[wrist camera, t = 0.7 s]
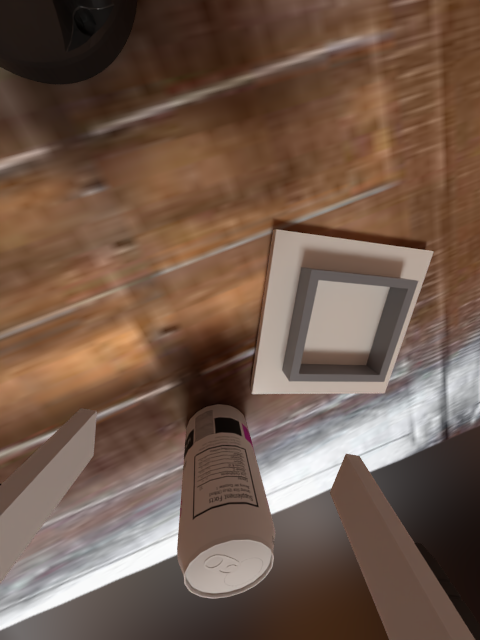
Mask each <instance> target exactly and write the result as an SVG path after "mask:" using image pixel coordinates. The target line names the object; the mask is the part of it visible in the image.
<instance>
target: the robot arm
mask: <svg viewBox="0 0 480 640" xmlns="http://www.w3.org/2000/svg"><path fill="white" fill-rule="evenodd" d="M136 6H137V0H0V67H2V68H4V69H6V70H8V71H10V72H12V73H14V74H16V75H19V76H21V77H24V78H27V79H30V80H34V81H38V82H43V83H49V84H70V83H76V82H80V81H83V80H86V79H89V78H91V77H93V76H95V75H97V74H98V73H100V72H101V71H103V70H104V69H105V68H107V67H108V66H109V65H110V64H111V63H112V62H113V61H114V60H115V58H116V57H117V56H118V54H119V53H120V52H121V50H122V48H123V47H124V45H125V43H126V41H127V39H128V37H129V34H130V31H131V29H132V25H133V22H134V17H135V12H136ZM96 414H97V411H93V410H88V409H82V408H81V409H80V410H79V411H78V412H77V413H76V414H74V415H73V416H72V417H71V418H70V419H69V420H68V421H67V422H66V423H65V424H64V425H63V426H62V427H61V428H60V429H59V430H58V431H57V432H56V433H55V434H54V435H53V436H52V437H50V438H49V439H48V440H47V441H46V442H45V443H44V444H43V445H42V446H41V447H40V448H39V449H38V450H37V451H36V452H35V453H34V454H33V455H32V456H31V457H30V458H29V459H28V460H26V461H25V462H24V463H23V464H22V465H21V466H20V467H19V468H18V469H17V470H16V471H15V472H14V473H13V474H12V475H11V476H10V477H9V478H8V479H7V480H6V481H5V482H4V483H2V484H0V583H1V582H2V581H3V579H4V578H5V577H6V575H7V574H8V572H9V571H10V570H11V568H12V567H13V566H14V564H15V563H16V561H17V560H18V559H19V557H20V556H21V555H22V553H23V552H24V550H25V549H26V548H27V546H28V545H29V544H30V542H31V541H32V539H33V538H34V537H35V535H36V534H37V532H38V531H39V530H40V528H41V527H42V526H43V524H44V523H45V521H46V520H47V519H48V517H49V516H50V515H51V513H52V512H53V510H54V509H55V508H56V506H57V505H58V504H59V502H60V501H61V499H62V498H63V497H64V495H65V494H66V493H67V491H68V490H69V488H70V487H71V486H72V484H73V483H74V482H75V480H76V479H77V477H78V476H79V475H80V473H81V472H82V471H83V469H84V468H85V466H86V465H87V464H88V462H89V461H90V460H91V458H92V457H93V455H94V442H95V428H96ZM330 494H331V496H332V499H333V502H334V504H335V506H336V509H337V511H338V514H339V516H340V519H341V521H342V524H343V526H344V529H345V531H346V534H347V536H348V538H349V541H350V543H351V546H352V548H353V551H354V553H355V556H356V558H357V561H358V563H359V565H360V568H361V570H362V573H363V575H364V578H365V580H366V583H367V585H368V588H369V590H370V592H371V595H372V598H373V600H374V602H375V605H376V607H377V610H378V612H379V615H380V617H381V620H382V622H383V625H384V627H385V630H386V632H387V634H388V637H389V639H390V640H480V624H479V623H478V621H477V620H476V618H475V617H474V616H473V614H472V612H471V611H470V609H469V608H468V606H467V605H466V604H465V602H464V601H463V600H462V599H461V596H460V594H459V593H458V592H457V590H456V588H455V587H454V585H453V584H451V583H450V580H449V578H448V577H447V575H446V574H445V572H444V571H443V569H442V568H441V566H440V565H439V563H438V562H437V560H436V559H435V558H434V557H433V556H432V555H431V554H430V553H429V552H428V550H427V549H426V548H425V547H424V546H423V545H422V544H420V543H414V542H413V540H412V539H411V537H410V536H409V534H408V533H407V531H406V529H405V528H404V526H403V524H402V523H401V521H400V520H399V518H398V517H397V515H396V513H395V512H394V510H393V509H392V507H391V505H390V504H389V502H388V501H387V499H386V498H385V496H384V495H383V493H382V491H381V490H380V488H379V486H378V485H377V483H376V482H375V480H374V479H373V477H372V475H371V474H370V472H369V471H368V469H367V467H366V466H365V464H364V463H363V461H362V460H361V458H360V456H356V455H350V454H346V455H345V457H344V460H343V462H342V465H341V467H340V469H339V472H338V474H337V477H336V479H335V482H334V484H333V486H332V489H331V492H330Z"/></svg>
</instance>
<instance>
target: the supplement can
mask: <svg viewBox="0 0 480 640" xmlns="http://www.w3.org/2000/svg"><path fill="white" fill-rule="evenodd" d="M274 539H275V529H274V525H273V521H272V517H271V513H270V509H269V506H268V502H267V498H266V494H265V491H264V487H263V483H262V479H261V475H260V472H259V468H258V464H257V460H256V456H255V453H254V449H253V445H252V441H251V437H250V434H249V430H248V426H247V423H246V420H245V417H244V415H243V414H242V413H241V412H240V411H239V410H238V409H236V408H234V407H232V406H229V405H221V404H217V405H212V406H207V407H205V408H203V409H201V410H200V411H198V412H197V413H196V414H195V415H194V416H193V417H192V418H191V419H190V421H189V423H188V425H187V428H186V439H185V453H184V466H183V480H182V493H181V507H180V520H179V534H178V547H177V552H178V562H179V564H180V567H181V570H182V573H183V575H184V584H185V585H186V587H187V588H188V590H189V591H190V592H192V593H194V594H196V595H198V596H200V597H206V598H222V597H229V596H233V595H236V594H239V593H242V592H244V591H246V590H248V589H250V588H252V587H254V586H256V585H257V584H258V583H259V582H260V581H261V580H263V579H264V578H265V577H266V576H267V574H268V573H269V571H270V570H271V568H272V566H273V560H274V556H273V547H274Z"/></svg>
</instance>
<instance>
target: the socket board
mask: <svg viewBox="0 0 480 640" xmlns="http://www.w3.org/2000/svg"><path fill="white" fill-rule="evenodd" d="M433 252H434V251H428V250H421V249H414V248H407V247H399V246H392V245H385V244H378V243H371V242H364V241H356V240H349V239H342V238H335V237H328V236H321V235H313V234H306V233H299V232H292V231H285V230H278V229H276V230H273V233H272V240H271V247H270V254H269V261H268V268H267V275H266V282H265V289H264V296H263V303H262V310H261V317H260V324H259V330H258V337H257V344H256V351H255V358H254V365H253V372H252V379H251V386H250V390H251V392H252V394H332V393H385V390H386V388H387V385H388V382H389V379H390V376H391V373H392V370H393V367H394V364H395V362H396V359H397V356H398V353H399V350H400V347H401V344H402V341H403V339H404V336H405V333H406V330H407V327H408V324H409V321H410V318H411V315H412V313H413V310H414V307H415V304H416V301H417V298H418V295H419V292H420V290H421V287H422V284H423V281H424V278H425V275H426V272H427V269H428V266H429V264H430V261H431V258H432V255H433Z"/></svg>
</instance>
